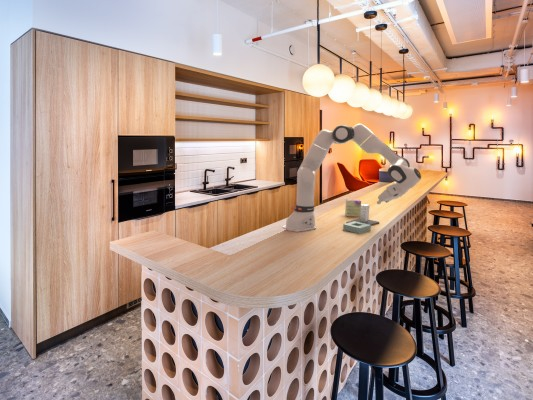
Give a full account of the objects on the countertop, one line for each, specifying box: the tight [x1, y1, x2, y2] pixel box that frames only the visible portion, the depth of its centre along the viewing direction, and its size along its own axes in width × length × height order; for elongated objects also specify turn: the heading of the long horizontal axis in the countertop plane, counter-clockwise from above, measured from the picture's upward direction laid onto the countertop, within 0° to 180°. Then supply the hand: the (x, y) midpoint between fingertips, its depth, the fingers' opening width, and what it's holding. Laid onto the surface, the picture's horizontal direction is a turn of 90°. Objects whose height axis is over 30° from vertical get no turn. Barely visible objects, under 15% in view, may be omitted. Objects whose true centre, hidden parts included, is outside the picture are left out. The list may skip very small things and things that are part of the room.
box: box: [344, 198, 362, 218], centre depth 244 cm, size 10×6×12 cm, turn 84°
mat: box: [345, 218, 380, 227], centre depth 223 cm, size 18×14×1 cm
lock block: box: [342, 221, 372, 235], centre depth 206 cm, size 12×12×4 cm
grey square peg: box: [359, 203, 370, 223], centre depth 221 cm, size 4×4×12 cm
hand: (382, 202), depth 210 cm, fingers open, 8 cm apart
